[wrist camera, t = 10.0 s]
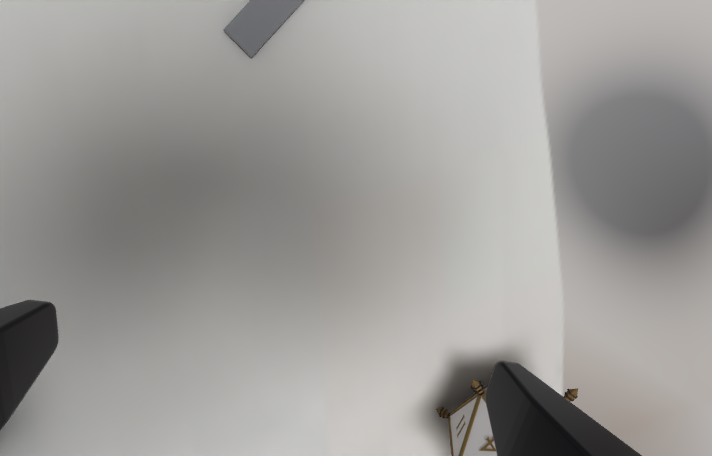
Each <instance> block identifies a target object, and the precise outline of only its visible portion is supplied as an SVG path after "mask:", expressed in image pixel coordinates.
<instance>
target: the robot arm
mask: <svg viewBox="0 0 712 456" xmlns="http://www.w3.org/2000/svg"><path fill="white" fill-rule="evenodd" d="M57 344H58V326H57V315H56V308H55V306H54V305H53V304H52V303H50V302H43V301H35V300H27V301H24V302H20V303H17V304H14V305H11V306H7V307H4V308H1V309H0V430H1V429H2V427H3V426H4V425H5V424H6V422H7V421H8V420H9V418H10V417H11V415H12V414H13V413H14V411H15V410H16V408H17V407H18V405H19V404H20V402H21V401H22V399H23V398H24V396H25V395H26V393H27V392H28V390H29V389H30V387H31V386H32V384H33V383H34V381H35V380H36V378H37V377H38V375H39V374H40V372H41V371H42V369H43V368H44V366H45V365H46V363H47V362H48V360H49V359H50V357H51V356H52V354H53V353H54V351H55V349H56V347H57ZM485 400H486V406H487V411H488V415H489V420H490V425H491V429H492V434H493V439H494V443H495V448H496V453H497V456H641V455H640V454H639V453H637V452H636V451H635V450H633V449H632V448H631V447H629V446H628V445H627V444H625V443H624V442H623V441H621V440H620V439H619V438H617V437H616V436H615V435H613V434H612V433H611V432H609V431H608V430H607V429H605V428H604V427H603V426H601V425H600V424H599V423H597V422H596V421H595V420H593V419H592V418H591V417H589V416H588V415H587V414H585V413H584V412H583V411H581V410H580V409H579V408H577V407H576V406H575V405H573V404H572V403H571V402H569V401H568V400H567V399H565V398H564V397H563V396H561V395H560V394H559V393H557V392H556V391H555V390H553V389H552V388H551V387H549V386H548V385H547V384H545V383H544V382H543V381H541V380H540V379H539V378H537V377H536V376H535V375H533V374H532V373H531V372H529V371H528V370H527V369H525V368H524V367H523V366H521V365H520V364H518V363H515V362H507V361H499V362H498V363H497V364H496V365H495V367H494V370H493V373H492V376H491V378H490V381H489V384H488V387H487V389H486V394H485Z"/></svg>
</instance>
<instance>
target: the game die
mask: <svg viewBox="0 0 712 456" xmlns="http://www.w3.org/2000/svg"><path fill="white" fill-rule="evenodd" d="M471 388H473V389H474V390H473V391H475V392H477V394H475V395H474V396H473V397H471V398H470V399H468V400H467V401H466V402H464V403H463V404H462V405H460V406H459V407H458V408H456V409H455V410H454V411H452V412H451V413H449V412H448V411H447V410H445V409H444V408H443V407H442V408H440V409H436V410H437V411H438V413H439V415H440V417H441V416H442V417H443V418H448V421H449V432H450V442H451V453H452V456H497V453H496V448H495V443H494V439H493V434H492V429H491V425H490V420H489V415H488V411H487V406H486V400H485V394H486V389H487V387H486V388H484V389H483V387H482V385H481V383H480V381H476V380H473V381H472V386H471ZM567 390H568V391H567V392H565V396H564V398H565V399H567V400H568V401H569V402H570V401H574V398H577V392H578V389H567Z"/></svg>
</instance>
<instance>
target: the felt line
mask: <svg viewBox="0 0 712 456" xmlns="http://www.w3.org/2000/svg"><path fill="white" fill-rule="evenodd" d="M303 1H304V0H250V2H249V3H248V4H247V5H246V6H245V7H244V8H243V9H242V10H241V12H240V13H239V14H238V15H237V16H236V17H235V18H234V19H233V20H232V21H231V23H230V24H229V25H228V26H227V27H226V28H225V29H224V31H225V32H226V33H227V34H228V35H229V36H230V37H231V38H232V39H233V40H234V41H235V42H236V43H237V44H238V45H239V46H240V47H241V48H242V49H243V50H244V51H245V52H246V53H247V54H248V55H249V56H250V57H251V58H252V57H253V56H254V55H255V54H256V53H257V52H258V51H259V49H260V48H261V47H262V46H263V45H264V44H265V43H266V42H267V41H268V40H269V39H270V37H271V36H272V35H273V34H274V33H275V32H276V31H277V30H278V29H279V28H280V26H281V25H282V24H283V23H284V22H285V21H286V20H287V19H288V18H289V17H290V16H291V14H292V13H293V12H294V11H295V10H296V9H297V8H298V7H299V6H300V5H301V3H302V2H303Z"/></svg>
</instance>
